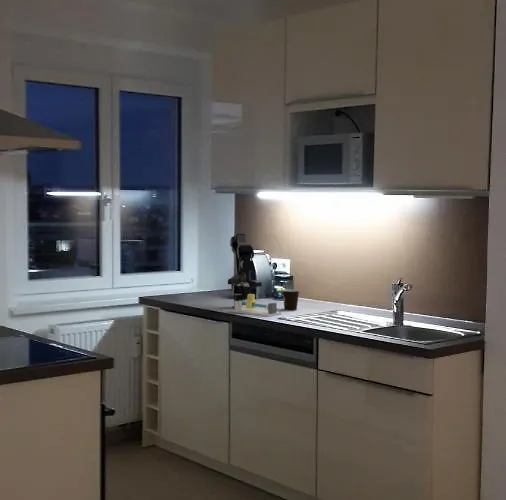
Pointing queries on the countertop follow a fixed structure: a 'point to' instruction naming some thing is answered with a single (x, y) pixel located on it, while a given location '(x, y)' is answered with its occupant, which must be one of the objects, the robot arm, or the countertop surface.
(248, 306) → the sleeve
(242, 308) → the cable comb
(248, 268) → the robot arm
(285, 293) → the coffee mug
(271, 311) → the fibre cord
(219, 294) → the countertop surface
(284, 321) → the countertop surface
